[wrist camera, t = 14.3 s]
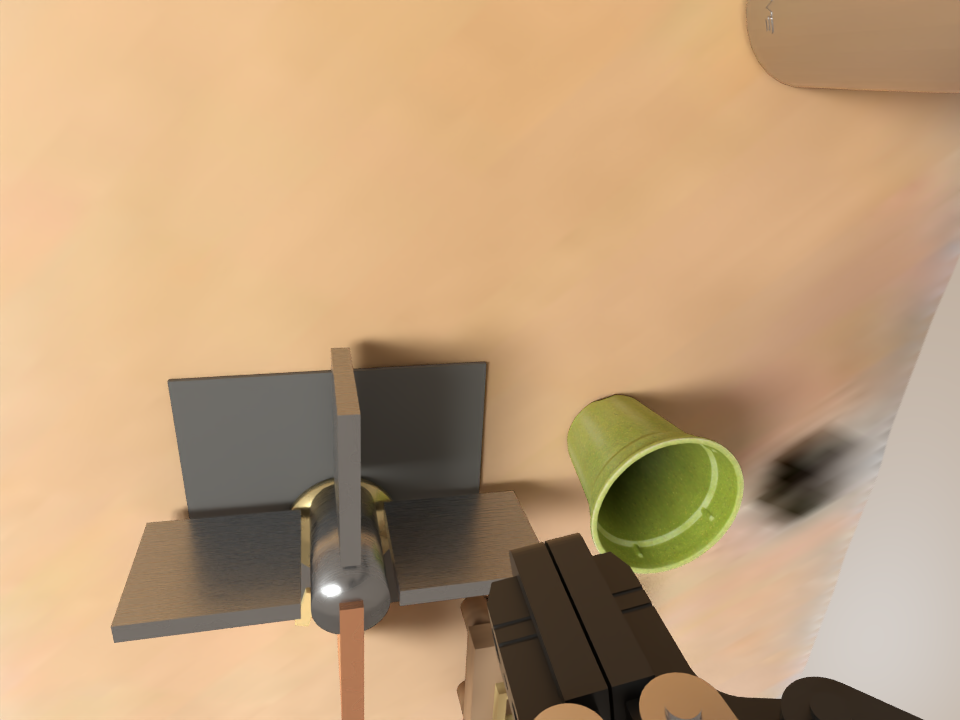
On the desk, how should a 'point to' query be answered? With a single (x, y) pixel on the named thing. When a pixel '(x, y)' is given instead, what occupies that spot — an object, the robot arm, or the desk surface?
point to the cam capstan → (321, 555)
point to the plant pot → (652, 485)
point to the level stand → (481, 668)
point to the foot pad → (326, 439)
